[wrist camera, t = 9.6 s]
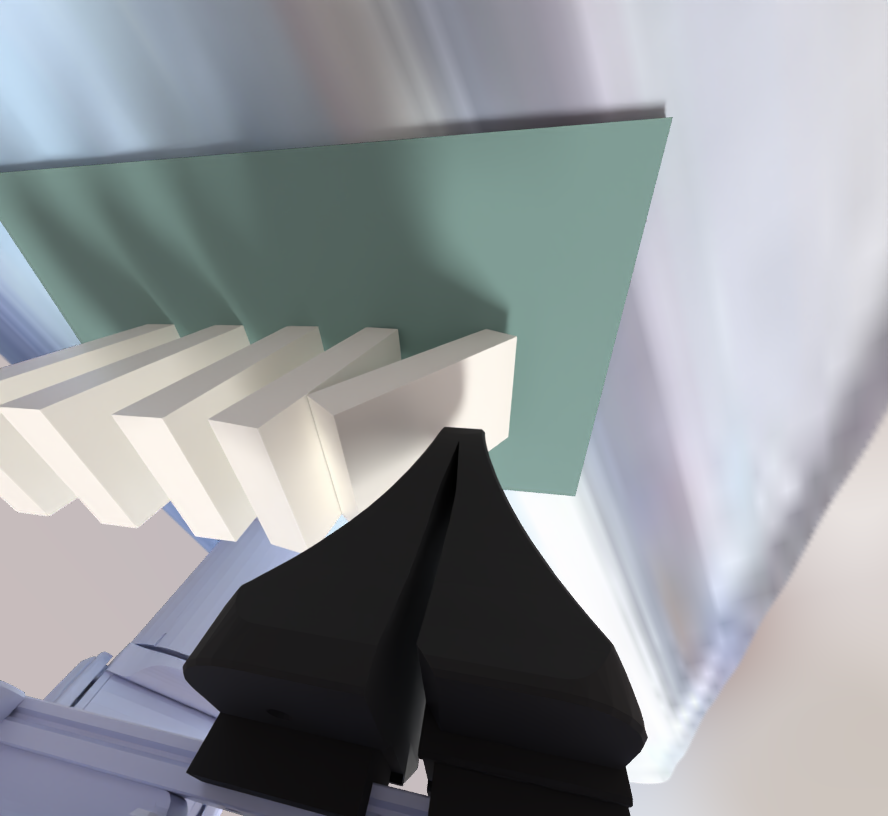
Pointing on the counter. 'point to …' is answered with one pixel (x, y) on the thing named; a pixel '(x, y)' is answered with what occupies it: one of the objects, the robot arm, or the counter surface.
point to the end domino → (3, 448)
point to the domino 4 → (411, 412)
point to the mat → (372, 254)
